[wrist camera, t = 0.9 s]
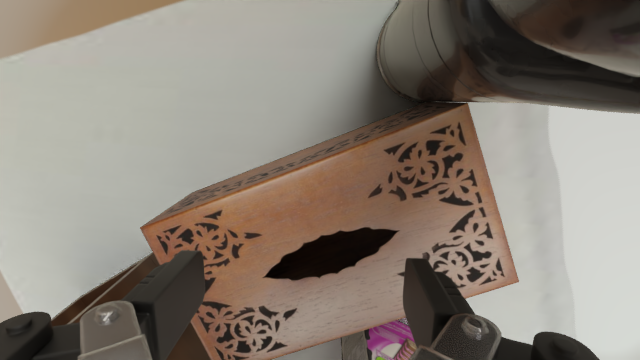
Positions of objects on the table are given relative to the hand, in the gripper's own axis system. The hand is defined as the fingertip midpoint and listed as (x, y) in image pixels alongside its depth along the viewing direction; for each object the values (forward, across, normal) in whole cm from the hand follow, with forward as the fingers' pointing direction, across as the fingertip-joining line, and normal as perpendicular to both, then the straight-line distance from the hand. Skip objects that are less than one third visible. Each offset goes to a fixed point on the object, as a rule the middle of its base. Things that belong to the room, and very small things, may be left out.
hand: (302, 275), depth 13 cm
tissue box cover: (+22, -1, +5) cm, 23 cm away
